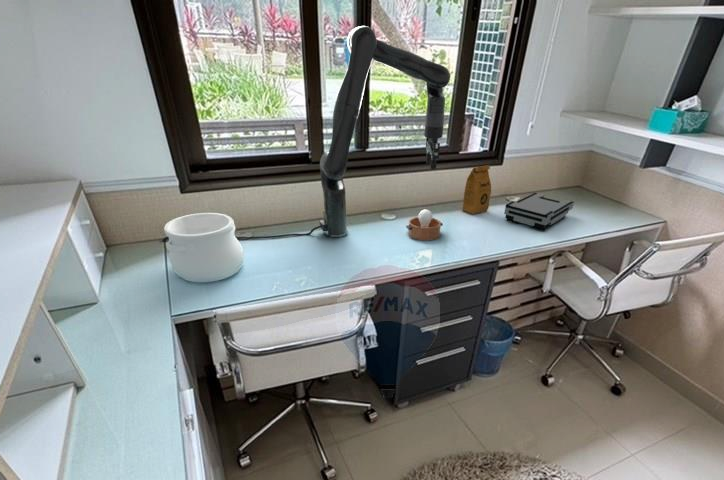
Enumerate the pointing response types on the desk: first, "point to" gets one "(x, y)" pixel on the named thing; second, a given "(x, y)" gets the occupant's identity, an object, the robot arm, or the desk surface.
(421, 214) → the lightbulb
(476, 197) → the coffee package
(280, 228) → the desk surface
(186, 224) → the pot
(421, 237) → the copper pot
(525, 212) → the game console
